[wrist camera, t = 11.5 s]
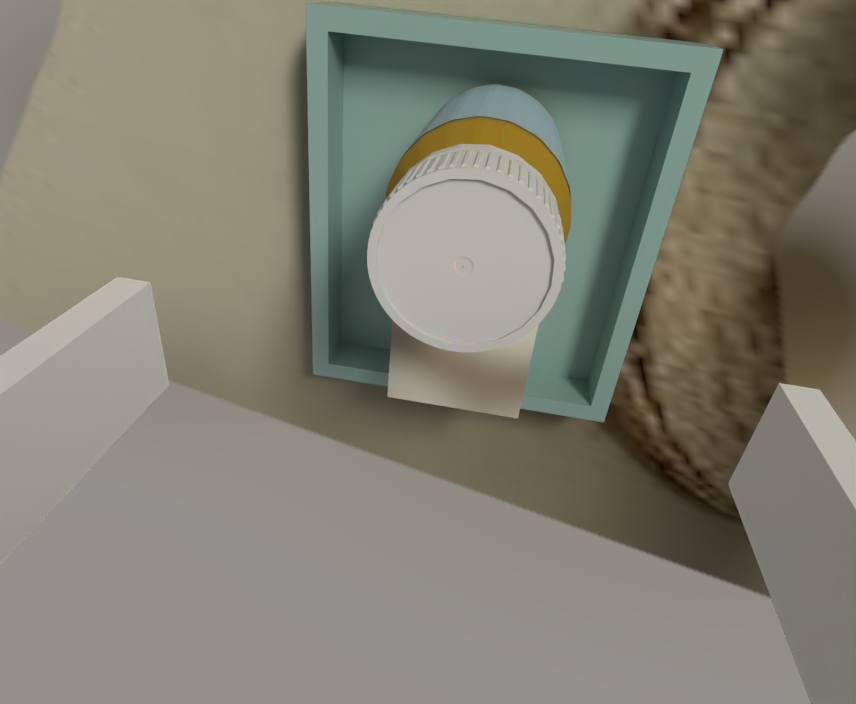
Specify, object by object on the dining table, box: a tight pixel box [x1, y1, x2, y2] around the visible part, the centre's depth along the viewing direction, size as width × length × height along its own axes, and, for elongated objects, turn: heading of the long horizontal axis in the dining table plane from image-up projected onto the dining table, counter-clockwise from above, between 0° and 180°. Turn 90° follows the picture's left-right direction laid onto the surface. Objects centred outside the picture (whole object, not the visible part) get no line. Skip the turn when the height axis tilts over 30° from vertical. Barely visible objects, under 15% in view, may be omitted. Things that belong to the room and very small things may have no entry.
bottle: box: [367, 84, 571, 352], centre depth 24 cm, size 7×7×15 cm
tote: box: [306, 2, 724, 422], centre depth 32 cm, size 20×18×4 cm
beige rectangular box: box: [387, 320, 539, 418], centre depth 33 cm, size 6×7×6 cm
